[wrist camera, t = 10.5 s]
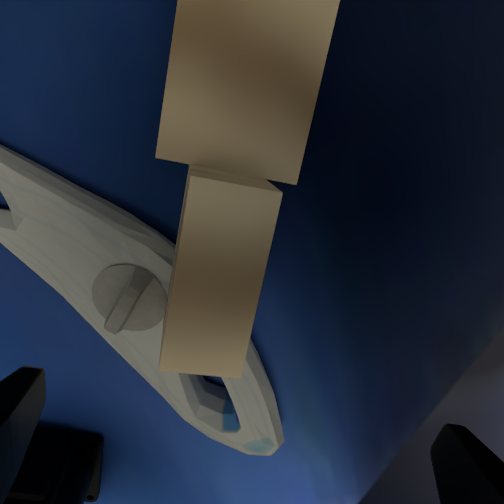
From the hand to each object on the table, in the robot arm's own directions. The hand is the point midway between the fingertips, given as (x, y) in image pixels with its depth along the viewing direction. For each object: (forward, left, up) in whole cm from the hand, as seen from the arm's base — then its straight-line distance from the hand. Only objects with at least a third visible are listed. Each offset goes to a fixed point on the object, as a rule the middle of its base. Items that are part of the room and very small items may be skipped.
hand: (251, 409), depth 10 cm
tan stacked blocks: (+2, +1, -10) cm, 11 cm away
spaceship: (-7, +4, -12) cm, 15 cm away
